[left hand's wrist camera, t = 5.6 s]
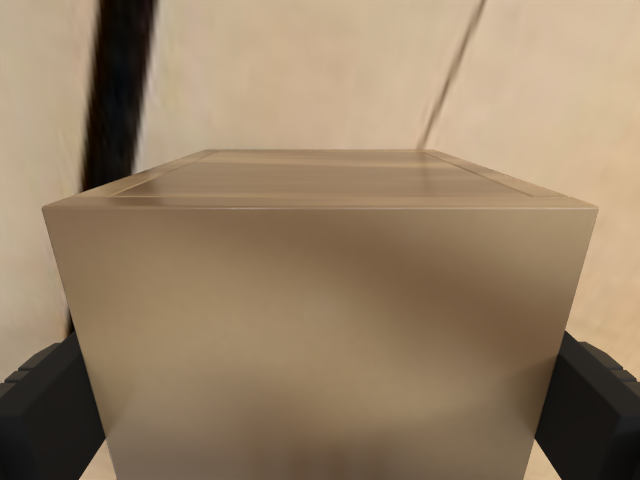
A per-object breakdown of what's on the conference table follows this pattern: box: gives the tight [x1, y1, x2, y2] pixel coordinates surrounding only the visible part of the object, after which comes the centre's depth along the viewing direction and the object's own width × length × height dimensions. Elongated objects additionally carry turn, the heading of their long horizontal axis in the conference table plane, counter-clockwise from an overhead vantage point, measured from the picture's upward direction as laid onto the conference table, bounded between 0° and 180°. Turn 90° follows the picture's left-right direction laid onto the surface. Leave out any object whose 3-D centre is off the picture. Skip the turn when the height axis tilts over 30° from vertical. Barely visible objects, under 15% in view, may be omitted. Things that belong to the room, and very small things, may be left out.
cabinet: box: [42, 150, 599, 480], centre depth 15 cm, size 16×11×11 cm
